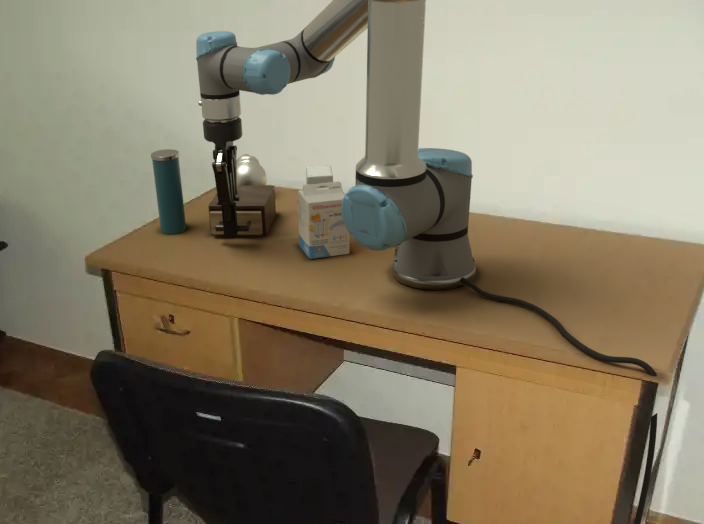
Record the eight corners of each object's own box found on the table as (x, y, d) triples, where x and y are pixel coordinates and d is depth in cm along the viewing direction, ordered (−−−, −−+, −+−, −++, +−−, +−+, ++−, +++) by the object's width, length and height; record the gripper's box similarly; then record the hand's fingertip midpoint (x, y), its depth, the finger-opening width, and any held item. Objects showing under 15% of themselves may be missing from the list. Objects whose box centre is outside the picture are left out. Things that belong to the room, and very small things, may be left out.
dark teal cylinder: (192, 229, 193) (184, 152, 185) (169, 236, 190) (160, 158, 182) (177, 222, 198) (168, 147, 189) (155, 229, 195) (145, 153, 186)
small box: (334, 222, 191) (333, 175, 186) (308, 224, 192) (306, 177, 186) (332, 210, 198) (331, 164, 193) (307, 211, 199) (305, 165, 193)
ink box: (308, 260, 174) (306, 194, 167) (298, 245, 181) (296, 181, 175) (350, 254, 175) (350, 188, 169) (338, 239, 183) (337, 176, 176)
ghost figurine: (273, 191, 213) (271, 150, 208) (261, 204, 205) (258, 162, 200) (238, 190, 215) (235, 149, 210) (225, 202, 208) (221, 160, 203)
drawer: (258, 241, 182) (256, 219, 180) (207, 241, 184) (205, 219, 181) (271, 214, 196) (270, 193, 194) (223, 214, 198) (221, 193, 195)
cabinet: (266, 235, 187) (264, 205, 184) (210, 235, 189) (208, 205, 186) (276, 213, 199) (274, 185, 195) (223, 213, 201) (221, 185, 198)
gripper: (210, 110, 176) (219, 222, 187) (195, 127, 165) (206, 245, 176) (246, 109, 174) (254, 222, 186) (234, 126, 163) (243, 245, 175)
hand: (230, 233), depth 181 cm, fingers closed
